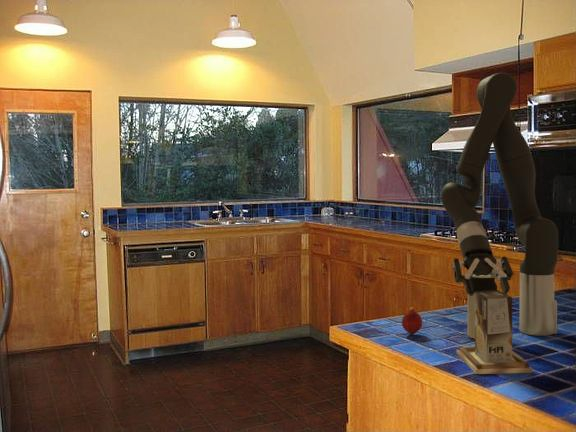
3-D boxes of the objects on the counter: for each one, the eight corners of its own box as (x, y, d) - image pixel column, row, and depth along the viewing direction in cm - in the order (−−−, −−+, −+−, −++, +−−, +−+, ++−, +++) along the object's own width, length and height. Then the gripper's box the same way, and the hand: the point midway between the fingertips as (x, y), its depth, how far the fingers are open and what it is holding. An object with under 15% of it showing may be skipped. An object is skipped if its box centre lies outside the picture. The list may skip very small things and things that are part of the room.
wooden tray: (506, 352, 158) (506, 344, 158) (532, 372, 142) (532, 364, 142) (456, 353, 158) (456, 346, 158) (476, 374, 142) (476, 365, 142)
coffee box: (513, 363, 145) (513, 297, 144) (487, 364, 145) (487, 297, 144) (498, 352, 155) (498, 289, 153) (473, 353, 154) (473, 290, 153)
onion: (422, 337, 173) (422, 310, 173) (401, 337, 174) (401, 309, 174) (422, 332, 179) (421, 305, 178) (402, 332, 180) (401, 305, 179)
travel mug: (461, 335, 175) (461, 273, 174) (483, 332, 178) (483, 270, 177) (480, 342, 168) (480, 277, 166) (503, 338, 171) (503, 274, 169)
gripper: (449, 234, 160) (463, 286, 149) (503, 232, 160) (521, 283, 149) (444, 252, 166) (457, 303, 155) (496, 250, 166) (513, 300, 155)
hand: (489, 293), depth 152 cm, fingers open, 8 cm apart
